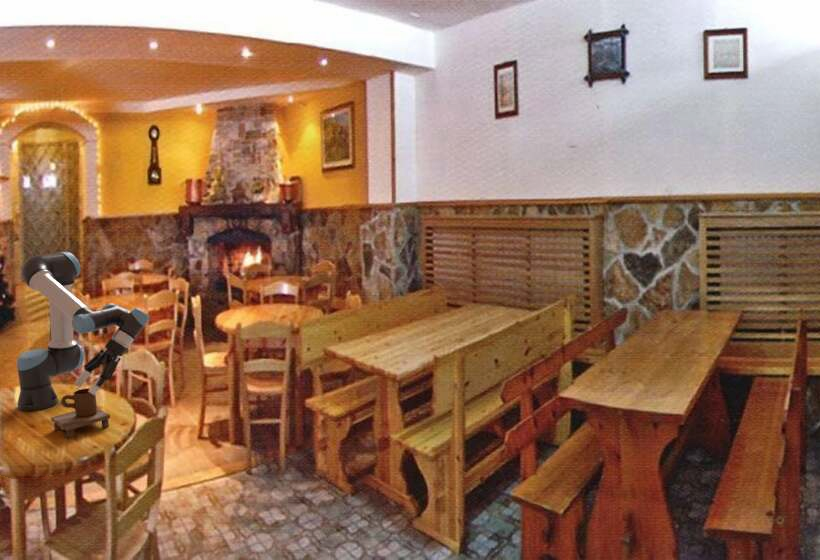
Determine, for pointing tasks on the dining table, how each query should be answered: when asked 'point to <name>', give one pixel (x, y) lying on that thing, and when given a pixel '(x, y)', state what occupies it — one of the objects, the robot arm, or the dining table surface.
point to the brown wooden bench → (78, 421)
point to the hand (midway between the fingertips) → (83, 389)
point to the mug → (82, 403)
